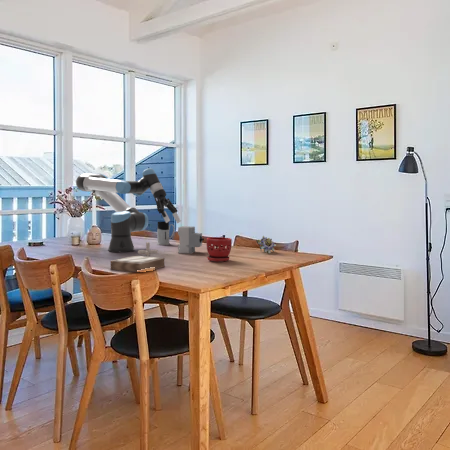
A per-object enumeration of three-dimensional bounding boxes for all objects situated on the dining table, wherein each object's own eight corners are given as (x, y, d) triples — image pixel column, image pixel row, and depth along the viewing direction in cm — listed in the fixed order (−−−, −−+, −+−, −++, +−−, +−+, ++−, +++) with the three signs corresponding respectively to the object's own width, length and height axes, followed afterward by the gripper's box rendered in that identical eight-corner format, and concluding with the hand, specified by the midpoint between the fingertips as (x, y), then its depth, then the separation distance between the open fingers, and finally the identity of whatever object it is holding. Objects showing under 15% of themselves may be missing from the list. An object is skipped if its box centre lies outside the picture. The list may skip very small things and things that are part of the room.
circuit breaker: (201, 253, 272) (201, 227, 271) (178, 253, 275) (177, 227, 274) (204, 251, 279) (204, 226, 278) (181, 251, 282) (181, 226, 281)
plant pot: (223, 263, 238) (223, 239, 237) (201, 261, 245) (201, 238, 244) (236, 260, 249) (236, 237, 248) (215, 258, 256) (215, 236, 255)
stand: (110, 269, 222) (110, 260, 221) (135, 263, 238) (134, 255, 237) (141, 272, 213) (140, 263, 213) (164, 266, 229) (164, 257, 229)
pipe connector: (139, 260, 248) (138, 241, 247) (158, 260, 249) (158, 241, 248) (137, 263, 238) (137, 243, 237) (157, 263, 239) (156, 243, 238)
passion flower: (268, 262, 272) (262, 247, 266) (256, 257, 280) (249, 242, 274) (281, 250, 277) (275, 235, 270) (268, 245, 285) (262, 230, 278)
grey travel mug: (163, 243, 322) (162, 221, 321) (178, 244, 314) (178, 222, 313) (154, 244, 315) (153, 222, 314) (169, 245, 307) (169, 223, 306)
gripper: (152, 186, 272) (168, 218, 267) (172, 190, 295) (188, 219, 290) (142, 193, 274) (158, 224, 270) (163, 196, 297) (178, 225, 293)
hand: (173, 222), depth 280 cm, fingers open, 13 cm apart
